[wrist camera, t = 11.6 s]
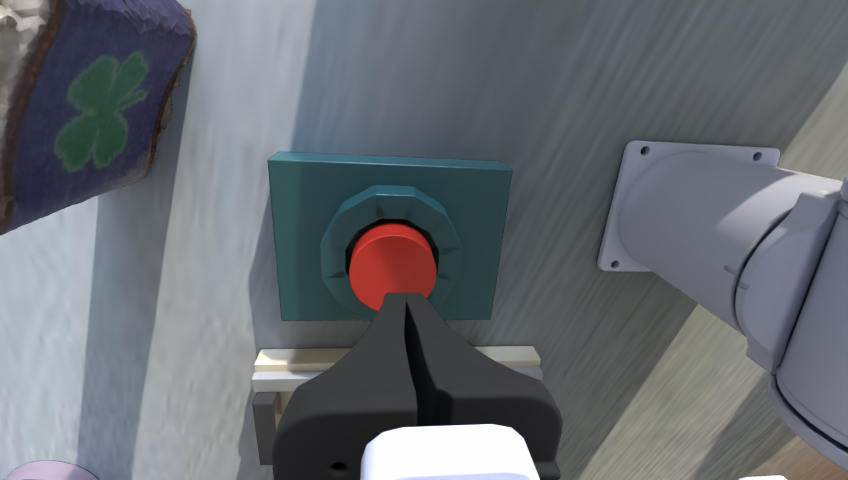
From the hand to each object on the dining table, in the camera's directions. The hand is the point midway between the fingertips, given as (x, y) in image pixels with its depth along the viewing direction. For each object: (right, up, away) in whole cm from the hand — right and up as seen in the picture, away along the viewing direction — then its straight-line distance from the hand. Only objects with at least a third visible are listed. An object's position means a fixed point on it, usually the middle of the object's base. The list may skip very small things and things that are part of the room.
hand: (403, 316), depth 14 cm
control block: (-1, +3, +9) cm, 9 cm away
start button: (-1, +2, +5) cm, 6 cm away
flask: (-13, +10, +5) cm, 17 cm away
